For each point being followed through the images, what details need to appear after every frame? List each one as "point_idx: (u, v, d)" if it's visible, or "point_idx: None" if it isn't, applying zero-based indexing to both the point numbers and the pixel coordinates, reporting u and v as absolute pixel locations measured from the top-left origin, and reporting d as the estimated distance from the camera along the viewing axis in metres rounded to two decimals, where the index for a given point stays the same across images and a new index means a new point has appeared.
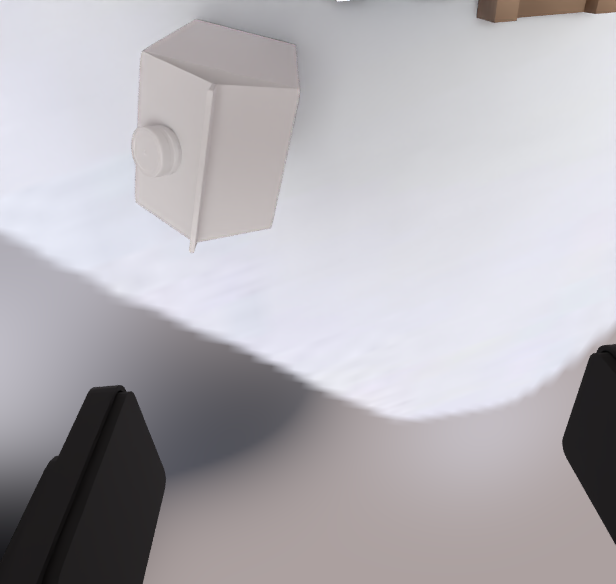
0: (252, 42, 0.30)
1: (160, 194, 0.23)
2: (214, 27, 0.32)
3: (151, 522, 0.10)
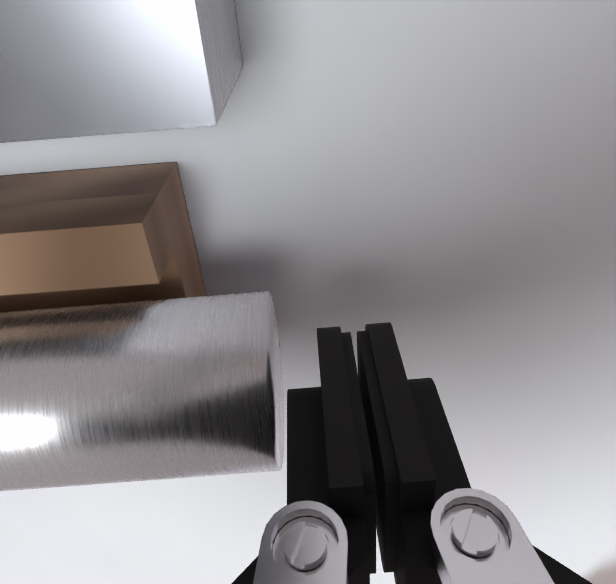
0: None
1: None
2: None
3: None
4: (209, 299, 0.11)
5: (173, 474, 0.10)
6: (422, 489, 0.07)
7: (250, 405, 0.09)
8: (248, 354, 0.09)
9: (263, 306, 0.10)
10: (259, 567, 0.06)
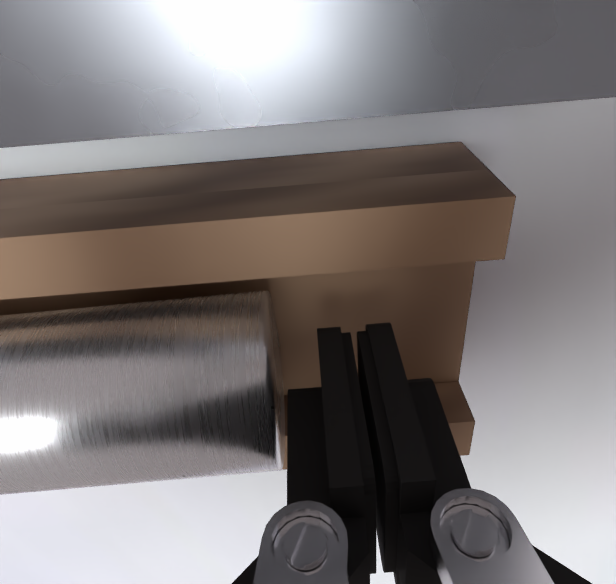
0: None
1: None
2: None
3: None
4: (207, 299, 0.10)
5: (174, 475, 0.10)
6: (422, 489, 0.07)
7: (250, 406, 0.09)
8: (247, 354, 0.09)
9: (262, 306, 0.10)
10: (259, 567, 0.06)
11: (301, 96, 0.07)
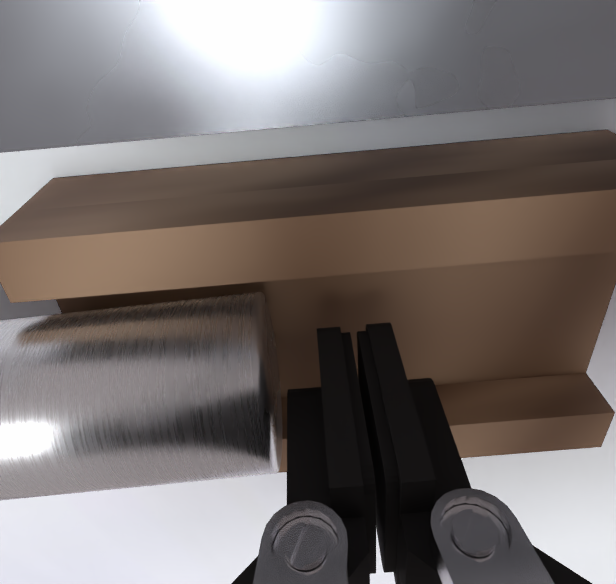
0: None
1: None
2: None
3: None
4: (200, 302, 0.10)
5: (169, 480, 0.10)
6: (422, 489, 0.07)
7: (242, 410, 0.09)
8: (239, 358, 0.09)
9: (254, 308, 0.10)
10: (259, 567, 0.06)
11: (563, 75, 0.07)
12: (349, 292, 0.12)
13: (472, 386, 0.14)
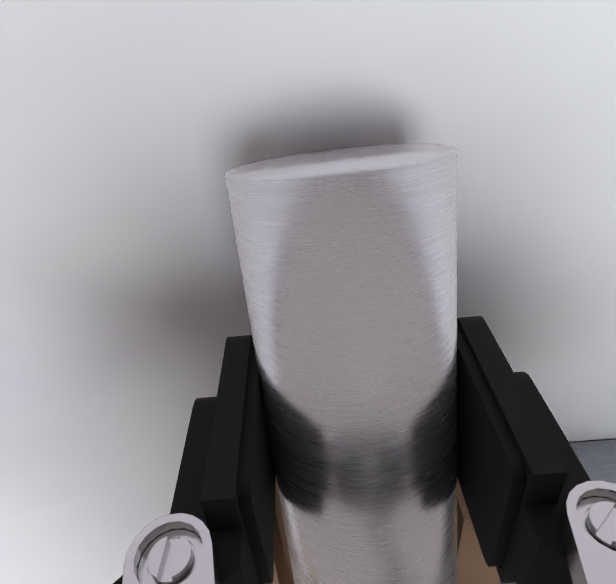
0: None
1: None
2: None
3: None
4: None
5: None
6: (552, 481, 0.07)
7: None
8: None
9: None
10: None
11: None
12: None
13: None
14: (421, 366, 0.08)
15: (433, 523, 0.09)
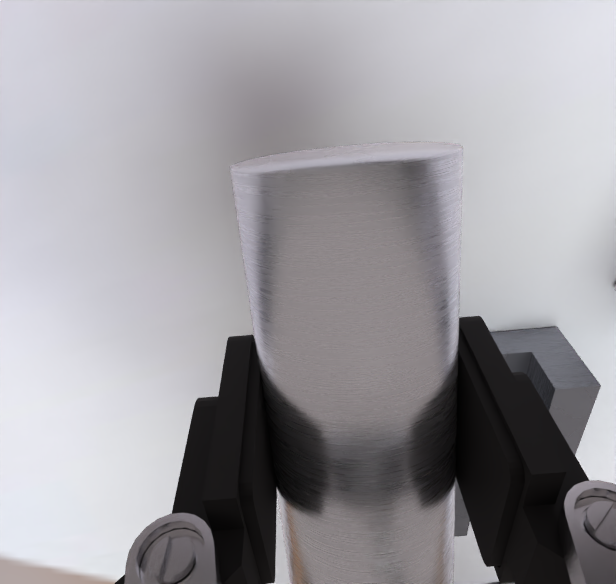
0: None
1: None
2: None
3: None
4: None
5: None
6: (550, 481, 0.07)
7: None
8: None
9: None
10: None
11: None
12: None
13: None
14: (423, 363, 0.08)
15: (431, 521, 0.09)
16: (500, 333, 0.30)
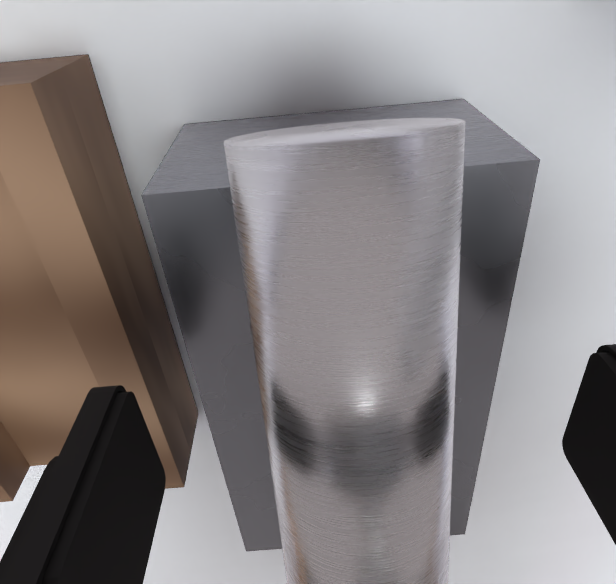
0: None
1: None
2: None
3: (151, 522, 0.10)
4: None
5: None
6: None
7: None
8: None
9: None
10: None
11: (227, 446, 0.14)
12: (52, 324, 0.15)
13: None
14: (421, 345, 0.08)
15: (428, 505, 0.09)
16: (339, 112, 0.14)
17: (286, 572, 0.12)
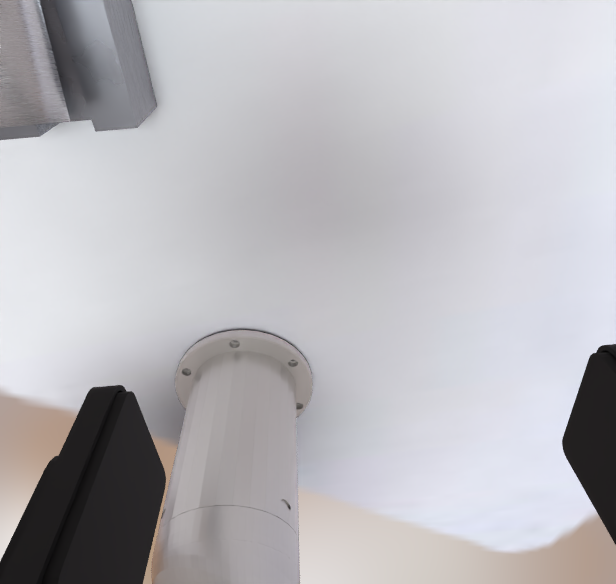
0: None
1: None
2: None
3: (151, 522, 0.10)
4: (63, 94, 0.23)
5: None
6: None
7: (26, 117, 0.22)
8: (48, 116, 0.22)
9: (66, 120, 0.23)
10: None
11: None
12: None
13: None
14: None
15: None
16: None
17: None
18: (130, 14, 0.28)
